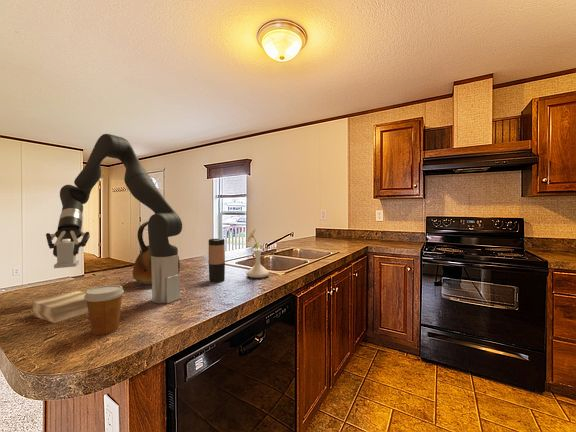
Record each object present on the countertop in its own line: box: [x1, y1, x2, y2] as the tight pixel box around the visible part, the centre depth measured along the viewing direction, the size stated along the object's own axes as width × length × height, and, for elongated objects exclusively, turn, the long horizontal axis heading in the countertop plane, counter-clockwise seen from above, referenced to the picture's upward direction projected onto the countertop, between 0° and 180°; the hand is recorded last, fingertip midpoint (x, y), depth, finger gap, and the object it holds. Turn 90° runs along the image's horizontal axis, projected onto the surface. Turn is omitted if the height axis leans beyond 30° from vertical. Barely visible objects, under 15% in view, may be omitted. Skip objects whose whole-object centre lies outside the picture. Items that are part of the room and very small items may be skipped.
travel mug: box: [208, 238, 226, 284], centre depth 132 cm, size 8×8×20 cm
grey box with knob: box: [53, 239, 80, 269], centre depth 104 cm, size 6×6×10 cm
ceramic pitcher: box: [132, 220, 181, 285], centre depth 129 cm, size 20×20×30 cm
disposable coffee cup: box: [84, 284, 125, 336], centre depth 79 cm, size 10×10×12 cm
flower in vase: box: [246, 228, 270, 279], centre depth 138 cm, size 13×11×25 cm
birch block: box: [32, 290, 89, 324], centre depth 92 cm, size 13×13×5 cm
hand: (65, 254), depth 103 cm, fingers closed on grey box with knob, 4 cm apart
